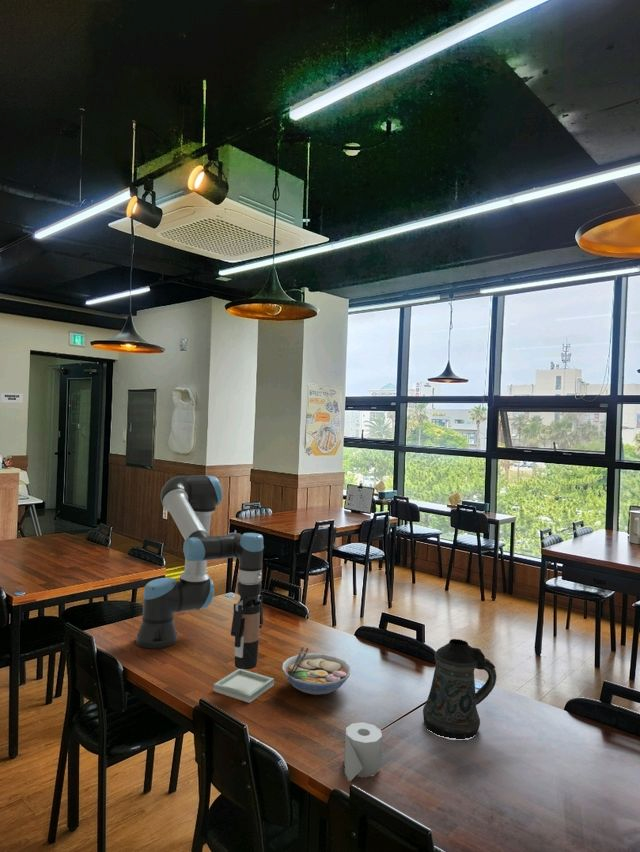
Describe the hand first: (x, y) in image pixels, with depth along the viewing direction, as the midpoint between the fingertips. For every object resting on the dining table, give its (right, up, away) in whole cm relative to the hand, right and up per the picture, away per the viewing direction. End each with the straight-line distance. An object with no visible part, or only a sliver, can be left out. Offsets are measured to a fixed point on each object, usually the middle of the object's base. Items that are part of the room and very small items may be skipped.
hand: (246, 652), depth 178 cm
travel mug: (0, -4, 0) cm, 4 cm away
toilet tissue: (+34, -14, -39) cm, 54 cm away
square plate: (-1, -12, 0) cm, 12 cm away
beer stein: (+64, -15, -16) cm, 68 cm away
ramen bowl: (+23, -13, +2) cm, 26 cm away
